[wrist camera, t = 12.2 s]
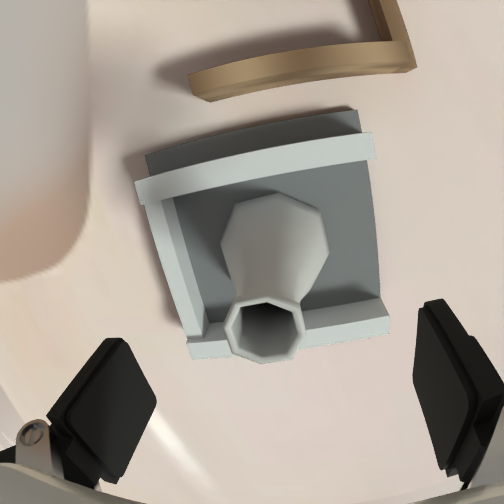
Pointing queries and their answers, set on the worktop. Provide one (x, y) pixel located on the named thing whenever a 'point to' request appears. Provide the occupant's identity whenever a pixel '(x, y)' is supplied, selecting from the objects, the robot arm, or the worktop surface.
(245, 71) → the wooden u-shaped bracket
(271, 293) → the flask
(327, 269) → the dock
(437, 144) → the worktop surface
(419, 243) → the worktop surface
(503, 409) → the robot arm
